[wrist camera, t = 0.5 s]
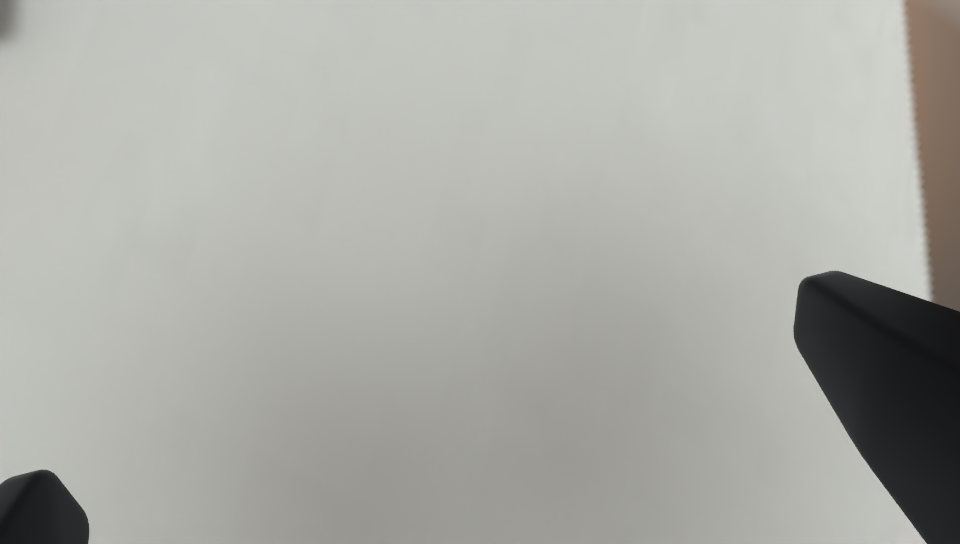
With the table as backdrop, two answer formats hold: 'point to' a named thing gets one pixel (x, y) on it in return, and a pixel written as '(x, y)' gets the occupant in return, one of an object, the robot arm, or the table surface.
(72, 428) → the table surface
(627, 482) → the table surface
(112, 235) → the table surface
